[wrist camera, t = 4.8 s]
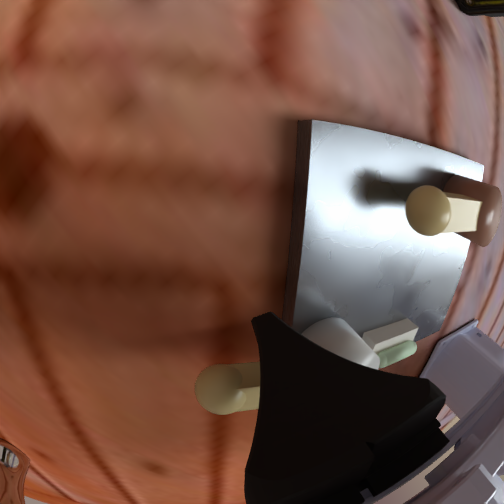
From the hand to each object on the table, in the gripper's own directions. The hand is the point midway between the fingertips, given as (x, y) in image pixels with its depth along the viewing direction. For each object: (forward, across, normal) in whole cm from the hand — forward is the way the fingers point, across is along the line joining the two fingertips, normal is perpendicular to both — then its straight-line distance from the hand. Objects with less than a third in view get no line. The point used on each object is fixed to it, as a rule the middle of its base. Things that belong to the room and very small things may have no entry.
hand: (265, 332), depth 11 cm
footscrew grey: (+1, -1, +3) cm, 3 cm away
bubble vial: (+1, -8, +6) cm, 10 cm away
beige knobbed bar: (+1, -11, -2) cm, 12 cm away
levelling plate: (+3, -9, +1) cm, 10 cm away
